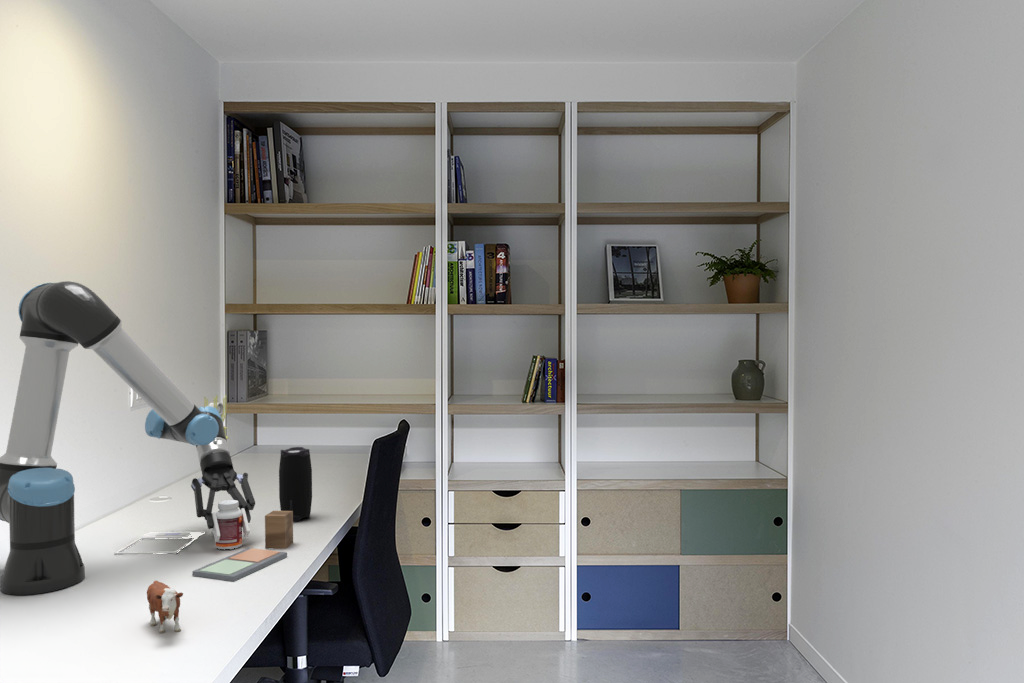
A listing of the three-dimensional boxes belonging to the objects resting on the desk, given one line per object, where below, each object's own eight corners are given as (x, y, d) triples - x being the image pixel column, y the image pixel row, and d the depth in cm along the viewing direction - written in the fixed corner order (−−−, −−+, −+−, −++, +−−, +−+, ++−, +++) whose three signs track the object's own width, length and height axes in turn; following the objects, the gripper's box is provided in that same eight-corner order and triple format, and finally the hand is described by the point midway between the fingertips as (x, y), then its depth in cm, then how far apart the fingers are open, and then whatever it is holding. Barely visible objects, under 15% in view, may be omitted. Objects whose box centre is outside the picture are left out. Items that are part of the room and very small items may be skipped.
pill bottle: (245, 547, 184) (244, 502, 183) (218, 552, 180) (218, 506, 180) (239, 541, 189) (238, 497, 189) (213, 545, 185) (212, 501, 185)
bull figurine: (160, 643, 128) (159, 596, 128) (144, 619, 139) (143, 575, 139) (187, 637, 131) (186, 590, 131) (170, 613, 142) (169, 570, 141)
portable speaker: (292, 513, 217) (292, 445, 216) (319, 516, 213) (318, 447, 213) (272, 520, 209) (271, 450, 209) (299, 524, 205) (298, 452, 205)
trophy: (220, 484, 258) (219, 396, 258) (200, 483, 260) (198, 396, 259) (233, 479, 267) (231, 394, 266) (213, 478, 268) (211, 394, 267)
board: (233, 581, 159) (233, 575, 159) (192, 575, 163) (192, 570, 163) (287, 556, 176) (286, 551, 176) (248, 552, 180) (248, 547, 180)
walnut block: (285, 548, 183) (284, 516, 182) (265, 548, 183) (264, 515, 183) (293, 542, 188) (292, 510, 187) (273, 542, 188) (273, 510, 188)
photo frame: (205, 530, 197) (176, 551, 179) (205, 534, 197) (176, 556, 179) (148, 531, 197) (114, 552, 179) (148, 535, 197) (114, 556, 179)
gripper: (177, 454, 187) (192, 534, 174) (255, 446, 198) (275, 521, 185) (173, 472, 191) (188, 551, 178) (250, 463, 202) (269, 538, 189)
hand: (232, 536), depth 181 cm, fingers closed on pill bottle, 6 cm apart
